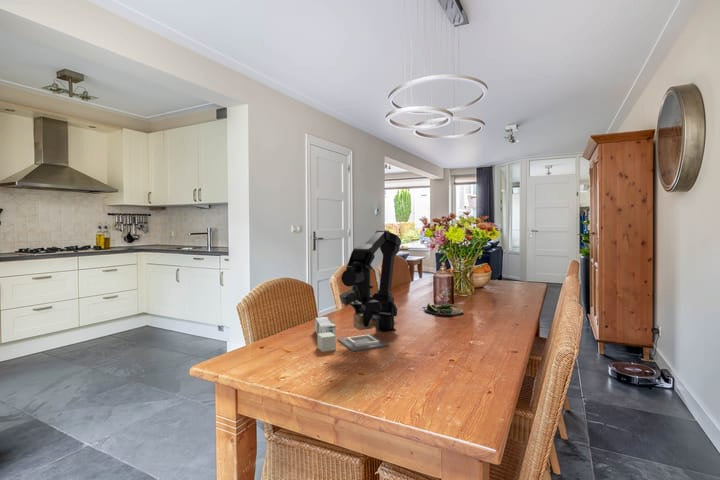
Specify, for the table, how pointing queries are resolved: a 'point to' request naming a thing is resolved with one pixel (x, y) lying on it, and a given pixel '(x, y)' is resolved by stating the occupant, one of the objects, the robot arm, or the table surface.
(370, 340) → the square panel
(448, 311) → the salad plate
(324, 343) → the sage block
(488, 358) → the table surface
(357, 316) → the walnut block
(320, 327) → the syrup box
